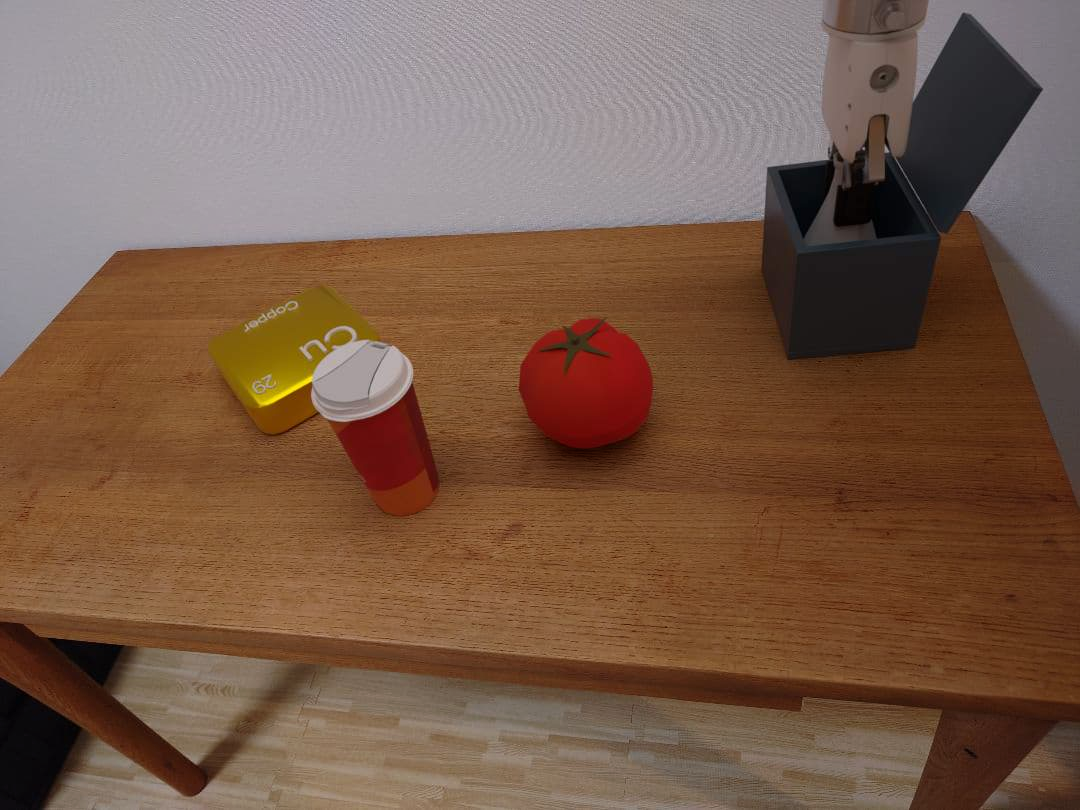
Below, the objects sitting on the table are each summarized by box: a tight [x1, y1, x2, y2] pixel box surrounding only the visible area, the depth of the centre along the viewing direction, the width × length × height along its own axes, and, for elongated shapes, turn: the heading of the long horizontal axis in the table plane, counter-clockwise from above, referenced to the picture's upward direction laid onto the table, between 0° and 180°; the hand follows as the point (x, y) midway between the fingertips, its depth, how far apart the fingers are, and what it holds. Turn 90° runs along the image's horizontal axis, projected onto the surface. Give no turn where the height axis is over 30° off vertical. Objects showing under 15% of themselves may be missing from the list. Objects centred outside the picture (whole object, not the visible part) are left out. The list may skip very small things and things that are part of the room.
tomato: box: [518, 315, 654, 449], centre depth 71 cm, size 12×12×11 cm
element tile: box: [207, 284, 382, 436], centre depth 85 cm, size 15×15×5 cm
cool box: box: [760, 151, 942, 360], centre depth 77 cm, size 12×15×12 cm
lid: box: [894, 12, 1044, 234], centre depth 68 cm, size 13×15×1 cm
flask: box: [803, 148, 877, 246], centre depth 74 cm, size 7×7×10 cm
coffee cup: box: [311, 340, 440, 517], centre depth 68 cm, size 8×8×15 cm
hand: (846, 209), depth 74 cm, fingers closed on flask, 3 cm apart
